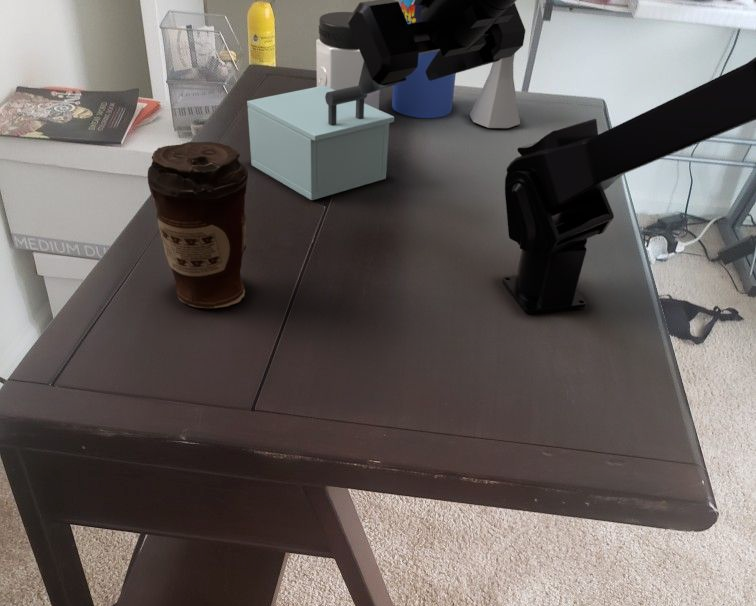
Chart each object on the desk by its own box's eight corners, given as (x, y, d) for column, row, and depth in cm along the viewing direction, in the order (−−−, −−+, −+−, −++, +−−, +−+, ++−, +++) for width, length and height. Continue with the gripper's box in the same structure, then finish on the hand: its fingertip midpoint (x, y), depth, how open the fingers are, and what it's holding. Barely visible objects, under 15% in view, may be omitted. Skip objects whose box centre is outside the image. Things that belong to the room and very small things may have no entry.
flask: (460, 115, 110) (470, 38, 103) (502, 111, 113) (514, 35, 106) (485, 132, 106) (497, 53, 99) (528, 127, 108) (542, 49, 101)
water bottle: (437, 95, 116) (458, -111, 98) (462, 116, 110) (489, -100, 92) (382, 99, 114) (392, -112, 96) (404, 120, 108) (420, -101, 90)
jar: (309, 108, 109) (307, 12, 101) (358, 102, 112) (361, 9, 104) (335, 129, 104) (336, 29, 95) (386, 122, 107) (392, 25, 98)
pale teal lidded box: (386, 178, 92) (389, 120, 88) (311, 200, 87) (310, 139, 82) (324, 146, 99) (324, 90, 94) (251, 165, 93) (247, 106, 88)
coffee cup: (237, 325, 67) (223, 180, 58) (151, 311, 68) (123, 166, 59) (266, 279, 74) (258, 141, 64) (187, 267, 74) (167, 129, 65)
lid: (394, 122, 87) (396, 84, 84) (315, 141, 82) (314, 102, 79) (324, 90, 94) (324, 54, 91) (247, 106, 88) (244, 68, 86)
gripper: (526, -123, 66) (429, -4, 80) (366, -117, 57) (287, 16, 71) (573, 0, 68) (470, 97, 82) (425, 25, 59) (337, 129, 73)
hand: (395, 83), depth 77 cm, fingers open, 9 cm apart
